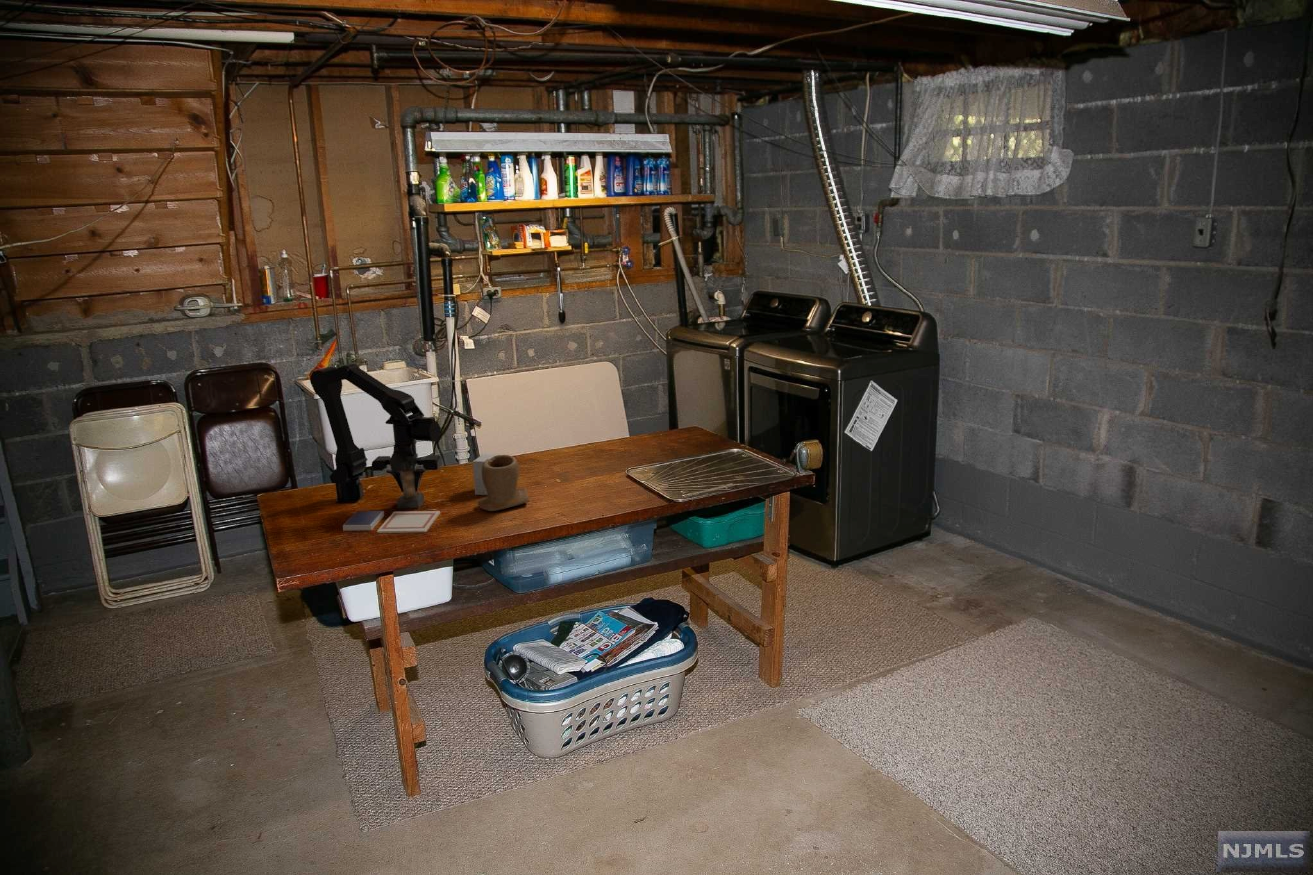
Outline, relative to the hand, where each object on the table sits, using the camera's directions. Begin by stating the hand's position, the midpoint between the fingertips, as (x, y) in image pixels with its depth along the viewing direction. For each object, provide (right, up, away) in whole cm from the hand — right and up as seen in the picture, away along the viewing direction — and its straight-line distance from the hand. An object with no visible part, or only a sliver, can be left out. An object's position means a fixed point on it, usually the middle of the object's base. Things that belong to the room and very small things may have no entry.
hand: (409, 491), depth 260 cm
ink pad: (-9, -8, -12) cm, 17 cm away
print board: (+3, -8, -12) cm, 15 cm away
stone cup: (+28, -4, -1) cm, 28 cm away
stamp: (0, -4, +1) cm, 4 cm away
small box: (+20, -1, +12) cm, 24 cm away
